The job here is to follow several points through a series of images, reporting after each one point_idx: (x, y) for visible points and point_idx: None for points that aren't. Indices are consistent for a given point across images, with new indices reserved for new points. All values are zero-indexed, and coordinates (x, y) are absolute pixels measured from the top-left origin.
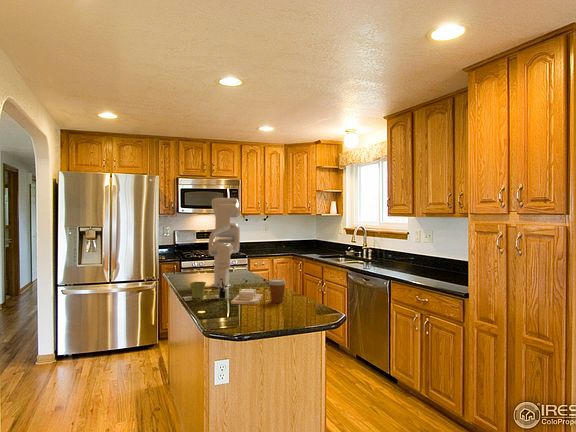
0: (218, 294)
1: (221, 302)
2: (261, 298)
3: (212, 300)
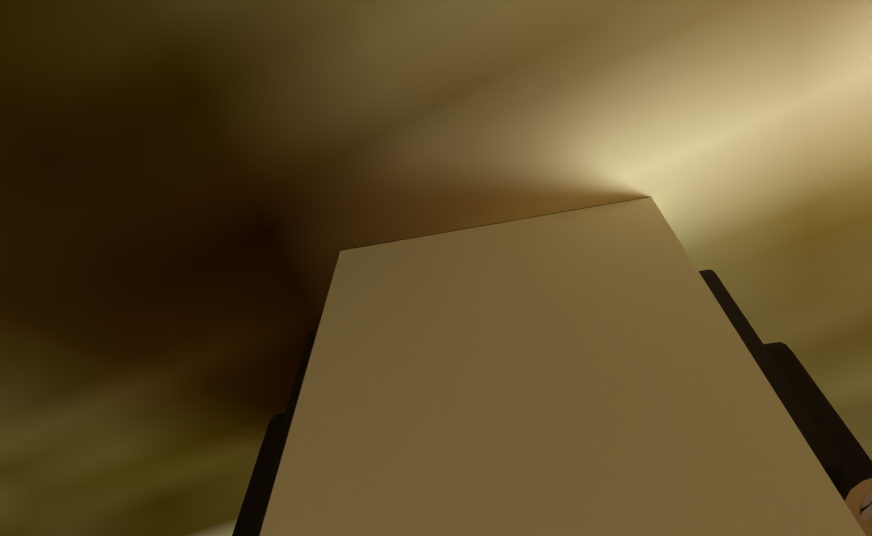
0: (315, 361)
1: (7, 490)
2: None
3: (34, 186)
